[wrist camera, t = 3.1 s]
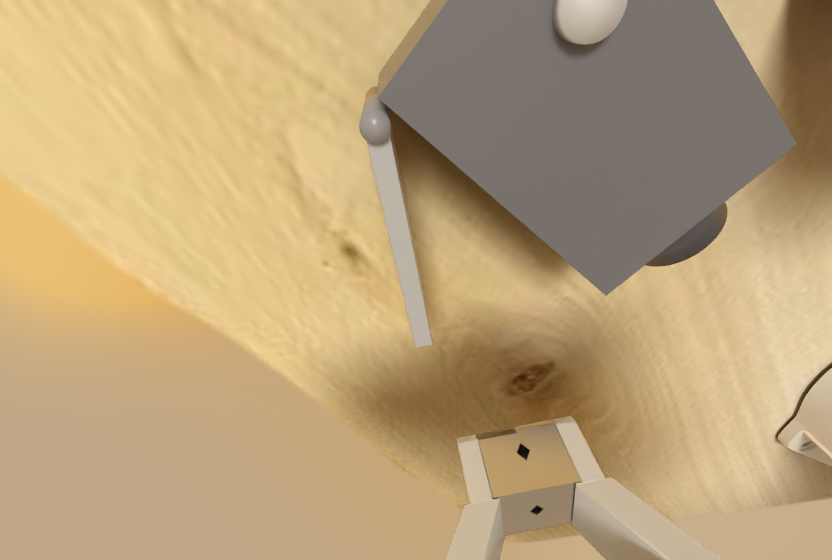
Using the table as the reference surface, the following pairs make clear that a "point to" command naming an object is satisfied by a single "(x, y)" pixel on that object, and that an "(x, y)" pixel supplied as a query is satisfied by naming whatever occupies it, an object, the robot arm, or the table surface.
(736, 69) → the camera body
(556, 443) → the robot arm
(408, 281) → the side door
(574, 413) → the table surface
